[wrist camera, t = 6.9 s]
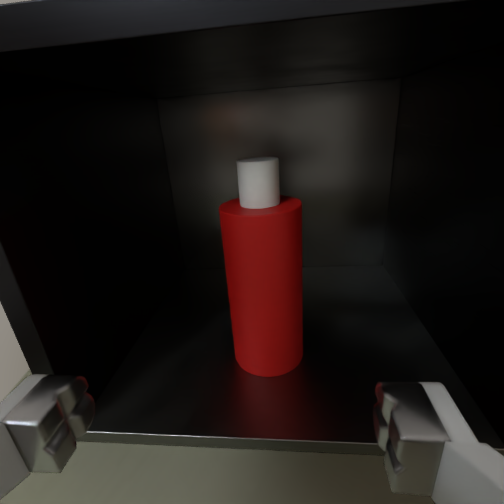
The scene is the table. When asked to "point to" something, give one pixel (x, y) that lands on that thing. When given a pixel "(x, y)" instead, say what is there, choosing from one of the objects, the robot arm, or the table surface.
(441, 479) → the robot arm
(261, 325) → the sauce bottle
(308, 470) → the table surface
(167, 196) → the toaster oven
